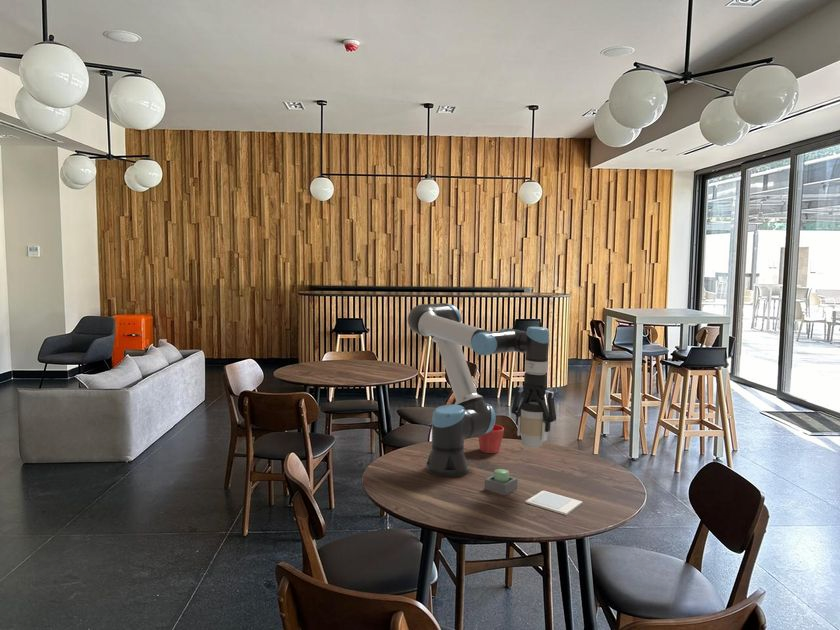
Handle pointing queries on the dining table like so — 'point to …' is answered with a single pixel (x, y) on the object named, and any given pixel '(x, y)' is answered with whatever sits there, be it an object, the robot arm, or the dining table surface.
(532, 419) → the coffee cup
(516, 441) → the dining table surface
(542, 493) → the white flat piece
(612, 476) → the dining table surface
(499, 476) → the button
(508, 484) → the button box
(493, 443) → the flower pot
